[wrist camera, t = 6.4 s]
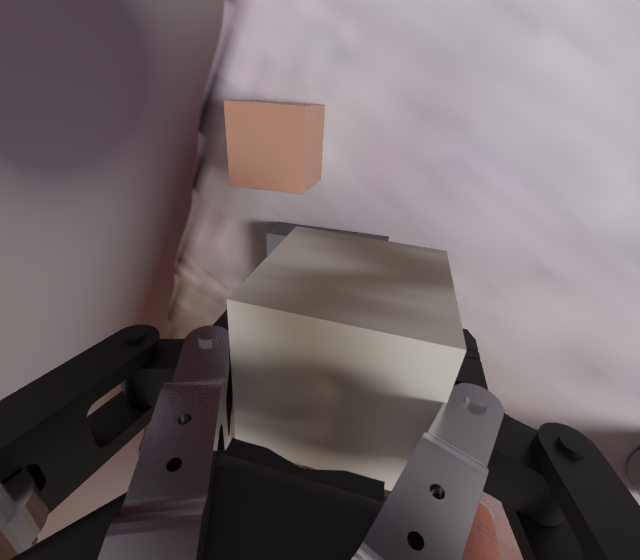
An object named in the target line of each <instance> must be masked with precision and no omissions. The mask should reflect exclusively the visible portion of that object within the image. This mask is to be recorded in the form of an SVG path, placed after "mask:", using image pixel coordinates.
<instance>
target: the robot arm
mask: <svg viewBox="0 0 640 560" xmlns="http://www.w3.org/2000/svg"><path fill="white" fill-rule="evenodd" d="M463 334H464V339H465V344H466V349H467V351H466V354H465V356H464V359H463V362H462V364H461V367H460V370H459V372H458V375H457V378H456V380H455V383H454V386H453V388H452V391H451V394H450V397H449V399H448V402H447V403H443V405H442V407H441V409H440V411H439V412H438V414H437V416H436V418H435V420H434V422H433V423H432V425H431V427H430V429H429V431H428V432H425V433H424V434H423V436H422V437H421V439H420V441H419V443H418V444H417V446H416V448H415V450H414V452H413V453H412V455H411V457H410V459H409V461H408V462H407V464H406V466H405V468H404V469H403V471H402V473H401V475H400V477H399V478H398V480H397V482H396V484H395V485H394V487H393V489H392V491H391V493H390V494H389V496H388V498H387V497H385V496H384V486H385V482H383V481H380V480H376V479H373V478H369V477H366V476H363V475H359V474H356V473H352V472H349V471H345V470H315V469H303V468H300V467H298V466H297V465H295V464H293V463H292V462H290V461H288V460H287V459H285V458H283V457H282V456H280V455H278V454H277V453H275V452H273V451H272V450H270V449H268V448H266V447H262V446H259V445H255V444H252V443H248V442H245V441H242V440H238V439H235V438H232V440H231V432H232V420H233V408H234V407H233V392H232V376H231V361H230V345H229V329H228V314H227V310H226V311H225V312H224V313H223V314H222V316H221V317H220V318H219V319H218V320H217V321H216V322H215V323H214V324H213V325H208V326H202V327H199V328H196V329H194V330H192V331H191V332H190V333H189V334H187V336H186V337H185V339H160V335H159V331H158V329H156V328H155V327H153V326H150V325H134V326H130V327H126V328H124V329H122V330H120V331H118V332H116V333H115V334H113V335H111V336H109V337H108V338H106V339H104V340H103V341H101V342H99V343H98V344H96V345H94V346H93V347H91V348H89V349H87V350H86V351H84V352H82V353H81V354H79V355H77V356H75V357H74V358H72V359H70V360H69V361H67V362H65V363H64V364H62V365H60V366H58V367H57V368H55V369H53V370H52V371H50V372H48V373H46V374H45V375H43V376H42V377H40V378H38V379H36V380H35V381H33V382H31V383H29V384H28V385H26V386H24V387H23V388H21V389H19V390H18V391H16V392H14V393H12V394H11V395H9V396H7V397H6V398H4V399H2V400H1V401H0V560H461V558H462V555H463V552H464V549H465V545H466V542H467V539H468V536H469V533H470V530H471V526H472V523H473V520H474V517H475V514H476V511H477V507H478V504H479V501H480V498H481V495H482V492H483V491H484V492H486V493H487V494H489V495H491V496H492V497H494V498H496V499H498V500H499V501H501V502H502V505H503V508H504V511H505V513H506V516H507V518H508V521H509V523H510V526H511V529H512V531H513V534H514V536H515V539H516V541H517V544H518V546H519V549H520V551H521V554H522V557H523V559H524V560H640V506H639V504H638V503H637V502H636V500H635V499H634V497H633V496H632V495H631V493H630V492H629V491H628V489H627V488H626V486H625V485H624V484H623V482H622V481H621V480H620V478H619V477H618V475H617V474H616V473H615V471H614V470H613V468H612V467H611V466H610V464H609V463H608V462H607V460H606V459H605V457H604V456H603V455H602V453H601V452H600V451H599V449H598V448H597V447H596V446H595V445H594V444H593V443H592V441H590V440H589V439H588V438H587V437H586V436H584V435H583V434H581V433H580V432H578V431H577V430H575V429H573V428H571V427H568V426H566V425H563V424H559V423H545V424H543V425H542V426H541V427H540V428H539V430H538V431H537V430H535V429H533V428H531V427H529V426H527V425H525V424H523V423H521V422H518V421H516V420H515V419H513V418H511V417H509V416H508V415H506V414H505V413H504V409H503V406H502V404H501V403H500V401H499V400H498V399H497V398H496V397H495V396H494V395H493V394H492V393H491V392H489V391H488V388H487V384H486V380H485V376H484V372H483V368H482V364H481V361H480V356H479V352H478V348H477V344H476V340H475V339H474V337H473V336H472V335H471V334H470V333H469V331H468V330H466V329H463ZM119 384H121V387H122V391H121V392H120V393H119V394H118V395H116V396H115V397H113V398H112V399H111V400H109V401H108V402H106V403H105V404H104V405H102V406H101V407H100V408H99V409H97V410H96V411H95V412H93V413H92V414H91V415H89V416H88V417H87V413H88V411H89V409H90V407H91V406H92V404H94V403H95V402H96V401H97V400H98V399H100V398H101V397H102V396H104V395H105V394H107V393H108V392H109V391H110V390H112V389H113V388H115V387H116V386H117V385H119ZM149 423H150V424H149ZM148 424H149V428H148V431H147V434H146V437H145V440H144V443H143V446H142V449H141V452H140V455H139V458H138V461H137V464H136V467H135V470H134V473H133V476H132V479H131V483H130V485H129V489H128V491H127V492H126V493H124V494H123V495H121V496H119V497H118V498H116V499H114V500H112V501H111V502H109V503H107V504H105V505H104V506H102V507H100V508H98V509H97V510H95V511H93V512H91V513H90V514H88V515H87V516H85V517H83V518H81V519H79V520H77V521H76V522H74V523H72V524H71V525H69V526H67V527H65V528H64V529H62V530H60V531H58V532H56V533H55V534H53V535H51V536H50V537H48V538H46V539H44V540H42V541H41V542H39V543H37V539H38V538H37V536H38V534H39V533H40V531H41V530H42V528H43V527H44V525H45V523H46V520H47V516H48V514H49V513H50V512H51V511H53V510H54V509H55V508H56V507H57V506H58V505H59V504H60V503H61V502H62V501H64V500H65V499H66V498H67V497H68V496H69V495H70V494H71V493H72V492H73V491H75V489H77V488H78V487H79V486H80V485H81V484H82V483H84V481H86V480H87V479H88V478H89V477H90V476H91V475H92V474H93V473H95V472H96V471H97V470H98V469H99V468H100V467H101V466H102V465H103V464H105V462H106V461H108V460H109V459H110V458H111V457H112V456H113V455H114V454H116V452H117V451H119V450H120V449H121V448H122V447H123V446H124V445H125V444H126V443H128V442H129V441H130V440H131V439H132V438H133V437H134V436H135V435H137V434H138V433H139V432H140V431H141V430H142V429H143V428H144V427H145V426H147V425H148ZM627 472H628V476H629V477H630V479H631V481H632V483H633V485H634V486H635V488H636V490H637V492H638V493H639V495H640V449H639V450H637V451H636V452H635V453H634V454H633V455H632V456H631V458H630V460H629V461H628V464H627Z"/></svg>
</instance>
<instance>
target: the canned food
mask: <svg viewBox="0 0 640 560" xmlns="http://www.w3.org/2000/svg"><path fill="white" fill-rule="evenodd" d="M461 560H501V558H500V553H499V547H498V542H497V537H496V531H495V526H494V517H493V514H492V512H491V510H490V509H489V507H488V506H487V505H486V504H485V503H484V502H482V501H481V500H480V501H479V504H478V507H477V511H476V514H475V517H474V520H473V523H472V526H471V530H470V533H469V536H468V539H467V542H466V545H465V549H464V552H463V555H462V558H461Z"/></svg>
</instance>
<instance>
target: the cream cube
mask: <svg viewBox="0 0 640 560" xmlns="http://www.w3.org/2000/svg"><path fill="white" fill-rule="evenodd" d="M227 314H228V329H229V345H230V361H231V376H232V392H233V407H234V423H235V439H238V440H242V441H245V442H248V443H252V444H255V445H259V446H262V447H266V448H268V449H270V450H272V451H273V452H275V453H277V454H278V455H280V456H282V457H283V458H285V459H287V460H288V461H290V462H293V463H297V464H300V465H303V466H307V467H310V468H314V469H317V470H345V471H349V472H352V473H356V474H359V475H363V476H366V477H369V478H373V479H376V480H380V481H383V482H385V486H384V489H385V490H389V491H392V489H393V487H394V485H395V484H396V482H397V480H398V478H399V477H400V475H401V473H402V471H403V469H404V468H405V466H406V464H407V462H408V461H409V459H410V457H411V455H412V453H413V452H414V450H415V448H416V446H417V444H418V443H419V441H420V439H421V437H422V436H423V434H424V433H425V432H428V431H429V429H430V427H431V425H432V423H433V422H434V420H435V418H436V416H437V414H438V412H439V411H440V409H441V407H442V405H443V403H447V402H448V399H449V397H450V394H451V391H452V388H453V386H454V383H455V380H456V378H457V375H458V372H459V370H460V367H461V364H462V362H463V359H464V356H465V354H466V351H467V349H466V344H465V339H464V334H463V329H462V324H461V319H460V315H459V310H458V305H457V300H456V295H455V290H454V285H453V280H452V275H451V270H450V266H449V261H448V256H447V251H444V250H438V249H432V248H426V247H419V246H413V245H407V244H401V243H395V242H389V241H383V240H377V239H371V238H365V237H359V236H353V235H346V234H340V233H334V232H328V231H322V230H316V229H310V228H304V227H298V226H296V227H295V228H294V229H293V230H292V231H291V232H290V233H289V234H288V235H287V236H286V238H285V239H284V240H283V241H282V242H281V243H280V244H279V245H278V246H277V247H276V248H275V249H274V250H273V251H272V252H271V253H270V254H269V255H268V256H267V257H266V258H265V260H264V261H263V262H262V263H261V264H260V265H259V266H258V267H257V268H256V269H255V270H254V271H253V272H252V273H251V274H250V275H249V276H248V277H247V278H246V279H245V280H244V281H243V283H242V284H241V285H240V286H239V287H238V288H237V289H236V290H235V291H234V292H233V293H232V294H231V295H230V296H229V297H228V298H227Z"/></svg>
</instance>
